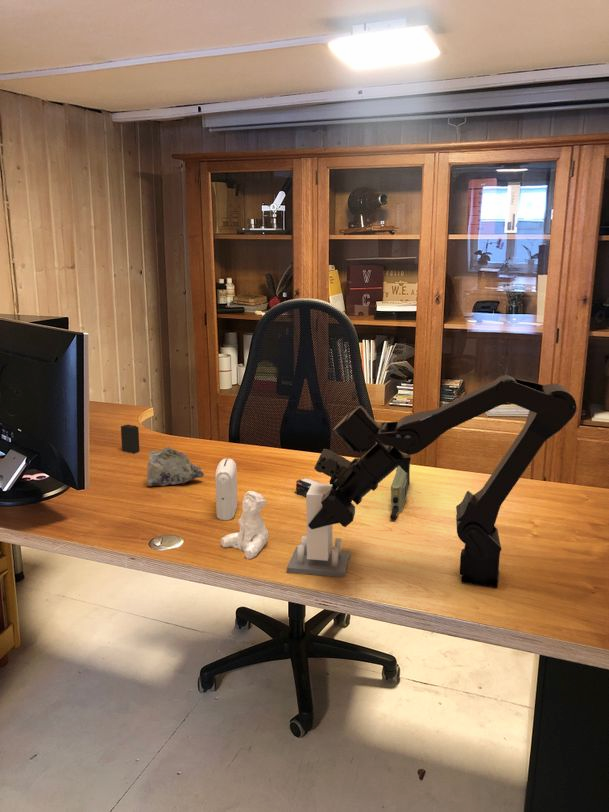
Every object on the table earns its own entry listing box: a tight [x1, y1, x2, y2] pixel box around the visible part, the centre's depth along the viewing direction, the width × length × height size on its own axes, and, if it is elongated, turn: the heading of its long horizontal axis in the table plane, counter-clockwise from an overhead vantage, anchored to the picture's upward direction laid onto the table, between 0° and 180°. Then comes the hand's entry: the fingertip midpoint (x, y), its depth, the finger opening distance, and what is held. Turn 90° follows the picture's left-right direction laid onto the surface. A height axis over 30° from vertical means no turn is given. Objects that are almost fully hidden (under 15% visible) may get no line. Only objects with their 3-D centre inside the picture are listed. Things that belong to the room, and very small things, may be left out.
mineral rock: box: [146, 446, 205, 487], centre depth 171 cm, size 13×11×10 cm
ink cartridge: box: [120, 424, 141, 454], centre depth 199 cm, size 5×2×8 cm, turn 61°
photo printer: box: [214, 457, 238, 521], centre depth 153 cm, size 10×4×12 cm, turn 0°
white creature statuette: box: [220, 490, 270, 560], centre depth 136 cm, size 10×9×12 cm
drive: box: [305, 483, 333, 561], centre depth 127 cm, size 4×6×13 cm, turn 169°
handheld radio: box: [389, 466, 411, 521], centre depth 160 cm, size 7×3×25 cm
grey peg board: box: [286, 535, 352, 579], centre depth 129 cm, size 11×9×4 cm
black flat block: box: [295, 477, 323, 498], centre depth 164 cm, size 14×25×4 cm, turn 44°
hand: (312, 520), depth 127 cm, fingers closed on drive, 6 cm apart
